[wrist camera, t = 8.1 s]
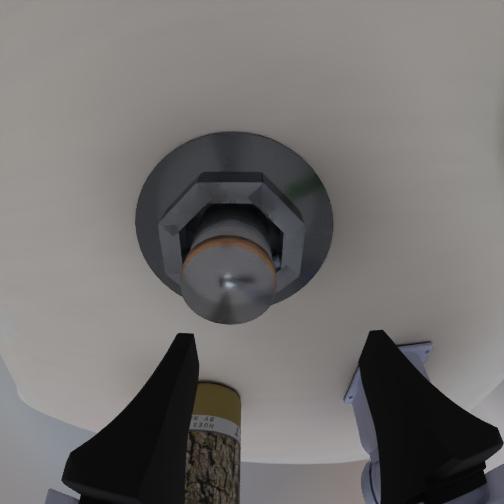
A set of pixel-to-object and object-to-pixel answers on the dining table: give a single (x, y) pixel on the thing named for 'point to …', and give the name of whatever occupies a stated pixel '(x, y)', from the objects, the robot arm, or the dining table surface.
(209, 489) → the paper tube
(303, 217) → the flange ring
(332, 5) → the dining table surface
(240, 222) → the silver metal canister
